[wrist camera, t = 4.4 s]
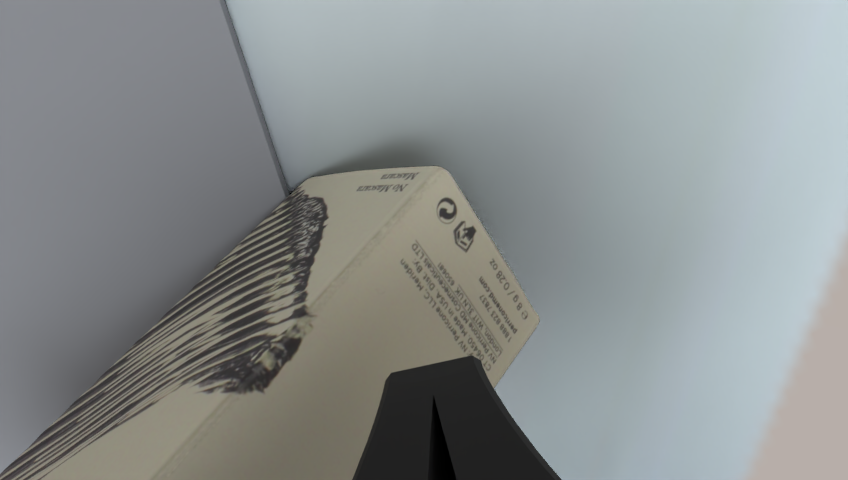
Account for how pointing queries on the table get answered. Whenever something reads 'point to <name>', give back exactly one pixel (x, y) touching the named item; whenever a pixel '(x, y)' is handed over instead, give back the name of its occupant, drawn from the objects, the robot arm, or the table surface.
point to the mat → (114, 184)
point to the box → (297, 339)
